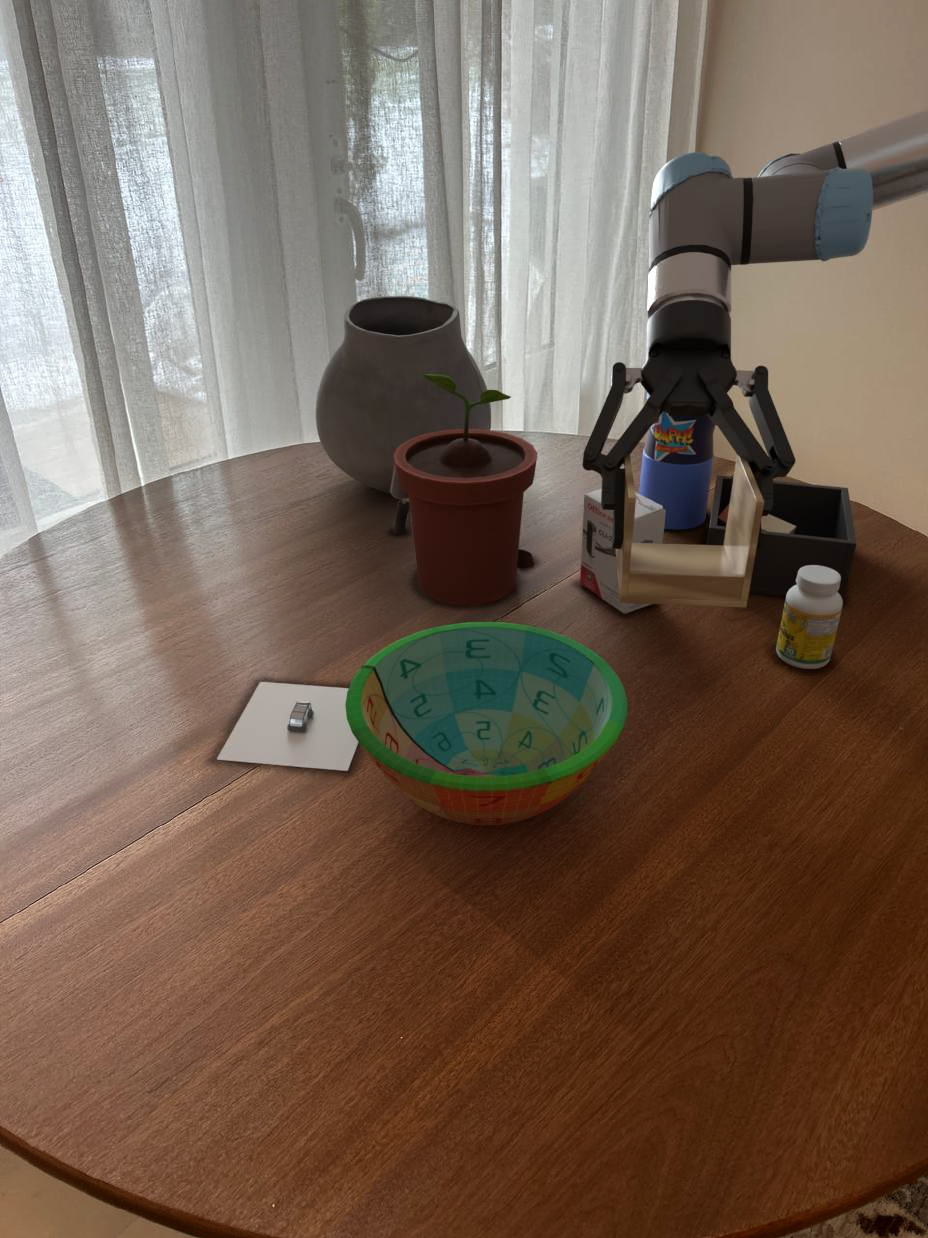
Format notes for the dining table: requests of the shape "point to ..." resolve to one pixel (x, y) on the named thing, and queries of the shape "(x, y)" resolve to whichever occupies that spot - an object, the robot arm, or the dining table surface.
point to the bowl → (486, 718)
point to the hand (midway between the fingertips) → (684, 547)
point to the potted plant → (464, 506)
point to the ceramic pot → (394, 384)
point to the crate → (693, 554)
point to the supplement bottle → (810, 618)
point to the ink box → (598, 545)
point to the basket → (796, 534)
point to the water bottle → (679, 468)
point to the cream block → (776, 525)
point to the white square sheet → (293, 728)
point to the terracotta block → (723, 517)
